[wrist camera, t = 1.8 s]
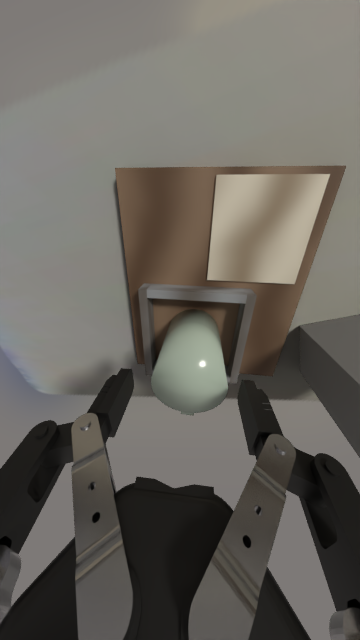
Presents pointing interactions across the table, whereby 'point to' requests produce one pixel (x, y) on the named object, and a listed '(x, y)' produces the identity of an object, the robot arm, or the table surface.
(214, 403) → the pale green rounded piece
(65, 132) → the table surface
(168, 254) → the wooden panel with label
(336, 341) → the perfume bottle
